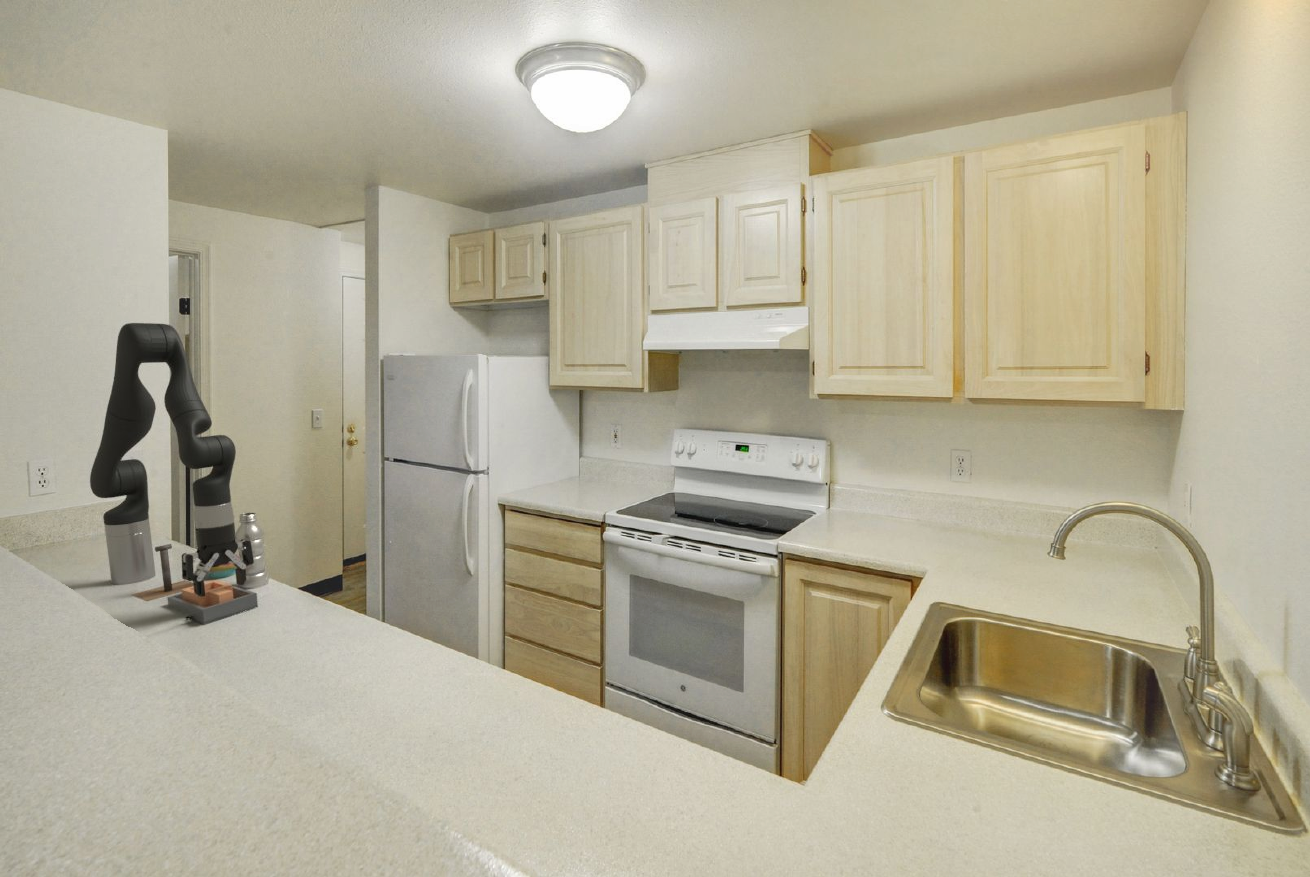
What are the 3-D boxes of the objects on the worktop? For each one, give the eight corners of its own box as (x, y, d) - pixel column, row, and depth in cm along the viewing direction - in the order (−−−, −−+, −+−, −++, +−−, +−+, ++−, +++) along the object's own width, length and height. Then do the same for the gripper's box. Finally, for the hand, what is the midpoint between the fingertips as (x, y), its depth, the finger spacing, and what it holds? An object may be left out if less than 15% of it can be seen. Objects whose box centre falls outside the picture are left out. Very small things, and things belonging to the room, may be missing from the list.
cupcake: (209, 577, 178) (204, 534, 177) (245, 572, 182) (241, 530, 180) (203, 587, 171) (198, 542, 169) (241, 582, 174) (236, 538, 173)
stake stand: (131, 600, 162) (125, 549, 160) (185, 585, 172) (180, 537, 170) (148, 607, 157) (141, 554, 156) (202, 591, 168) (197, 541, 166)
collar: (183, 607, 155) (181, 589, 154) (217, 597, 161) (215, 579, 161) (210, 617, 149) (208, 598, 148) (244, 606, 155) (242, 587, 155)
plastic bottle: (246, 596, 163) (239, 518, 161) (235, 591, 167) (228, 515, 165) (274, 589, 168) (267, 513, 166) (262, 583, 173) (255, 509, 170)
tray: (169, 611, 155) (167, 597, 154) (222, 595, 164) (220, 582, 164) (204, 624, 146) (202, 609, 146) (257, 607, 156) (256, 593, 156)
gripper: (238, 513, 158) (244, 578, 160) (171, 527, 146) (178, 596, 148) (255, 517, 154) (261, 583, 157) (188, 531, 142) (195, 603, 144)
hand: (221, 589), depth 152 cm, fingers open, 8 cm apart
